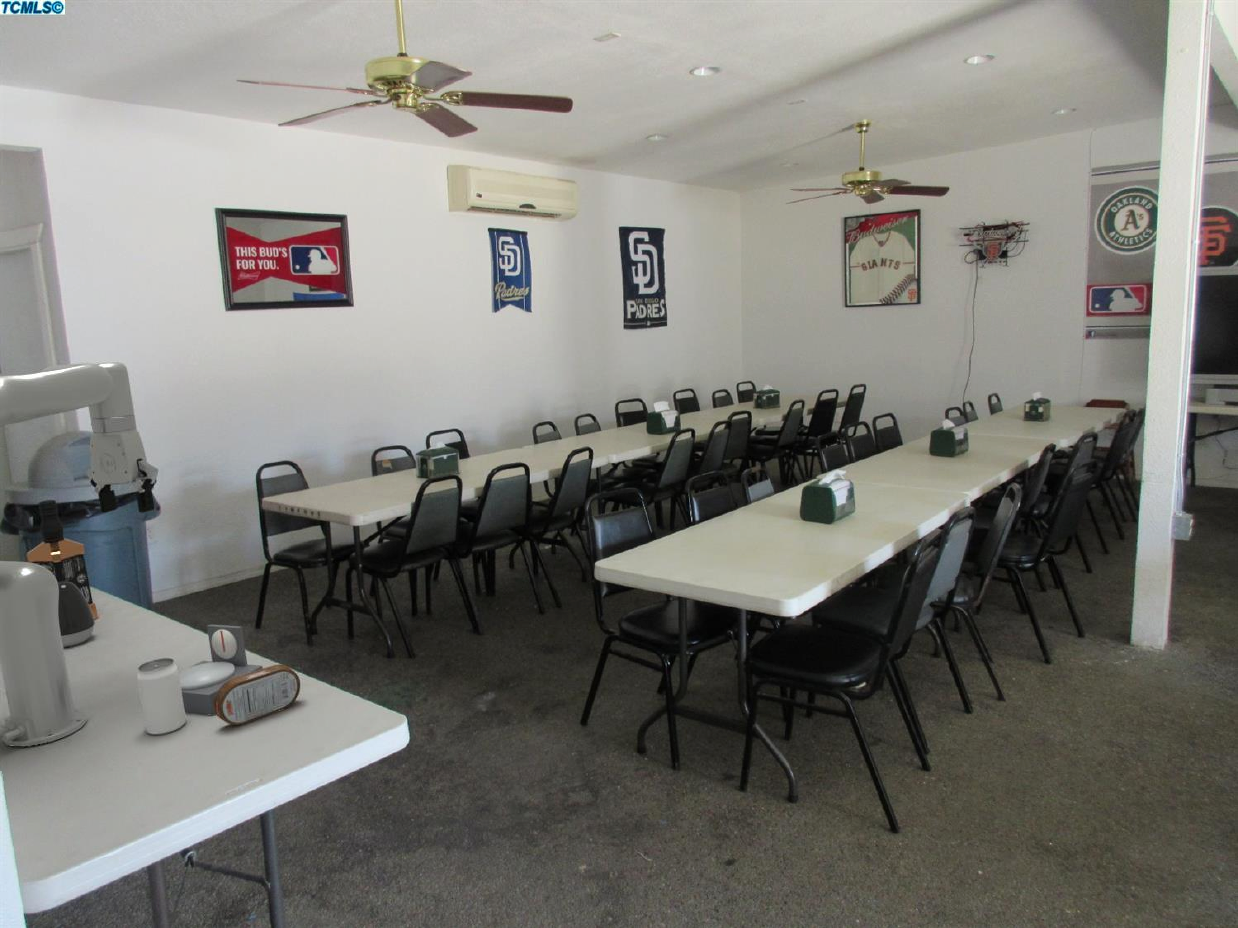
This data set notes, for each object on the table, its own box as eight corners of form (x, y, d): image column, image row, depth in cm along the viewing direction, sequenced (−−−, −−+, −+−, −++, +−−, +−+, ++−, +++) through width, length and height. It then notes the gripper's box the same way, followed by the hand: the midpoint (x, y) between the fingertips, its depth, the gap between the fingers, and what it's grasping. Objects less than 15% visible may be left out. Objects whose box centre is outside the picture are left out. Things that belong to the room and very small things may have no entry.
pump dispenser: (37, 648, 202) (25, 586, 199) (82, 633, 211) (71, 573, 208) (61, 653, 197) (49, 590, 194) (106, 638, 206) (95, 577, 203)
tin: (298, 699, 163) (292, 657, 161) (305, 703, 161) (299, 661, 159) (216, 729, 152) (209, 684, 151) (222, 734, 150) (215, 688, 149)
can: (176, 716, 159) (166, 654, 157) (192, 724, 155) (182, 661, 153) (140, 730, 154) (129, 666, 152) (155, 739, 150) (144, 674, 148)
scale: (212, 715, 158) (203, 653, 156) (150, 708, 163) (140, 648, 161) (264, 684, 171) (256, 627, 169) (205, 679, 176) (197, 623, 174)
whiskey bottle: (101, 617, 222) (80, 496, 217) (69, 631, 213) (46, 505, 208) (68, 616, 225) (46, 497, 220) (35, 630, 215) (11, 505, 210)
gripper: (63, 429, 168) (78, 515, 170) (132, 427, 162) (146, 515, 165) (97, 424, 175) (111, 506, 177) (164, 422, 169) (177, 507, 172)
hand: (128, 511), depth 171 cm, fingers open, 9 cm apart
